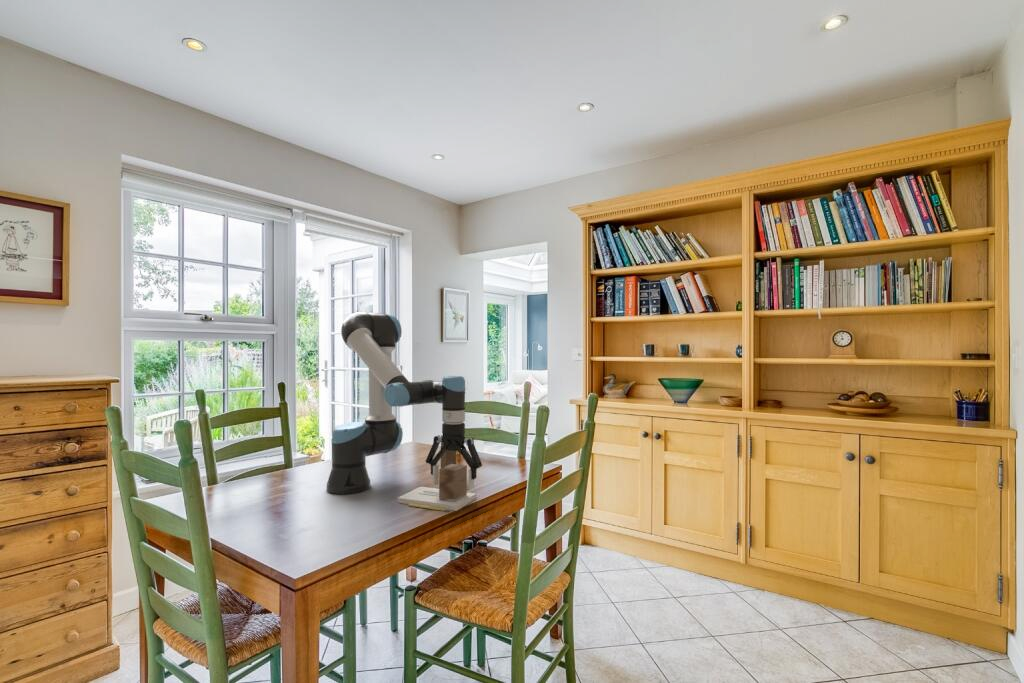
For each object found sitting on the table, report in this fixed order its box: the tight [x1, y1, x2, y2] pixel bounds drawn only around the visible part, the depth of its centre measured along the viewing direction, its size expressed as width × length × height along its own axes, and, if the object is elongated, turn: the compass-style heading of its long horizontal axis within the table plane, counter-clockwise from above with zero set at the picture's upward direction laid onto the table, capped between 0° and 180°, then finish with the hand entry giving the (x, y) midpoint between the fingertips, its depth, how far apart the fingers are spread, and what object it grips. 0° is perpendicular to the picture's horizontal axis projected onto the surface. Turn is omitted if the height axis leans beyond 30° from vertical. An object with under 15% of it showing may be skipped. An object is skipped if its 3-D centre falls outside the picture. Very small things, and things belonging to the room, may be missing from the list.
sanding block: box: [438, 463, 468, 502], centre depth 163 cm, size 6×8×10 cm
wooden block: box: [440, 434, 457, 469], centre depth 184 cm, size 9×4×18 cm, turn 38°
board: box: [397, 486, 477, 512], centre depth 165 cm, size 22×14×2 cm, turn 69°
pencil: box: [408, 504, 450, 512], centre depth 156 cm, size 14×1×1 cm, turn 69°
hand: (453, 486), depth 163 cm, fingers open, 13 cm apart
